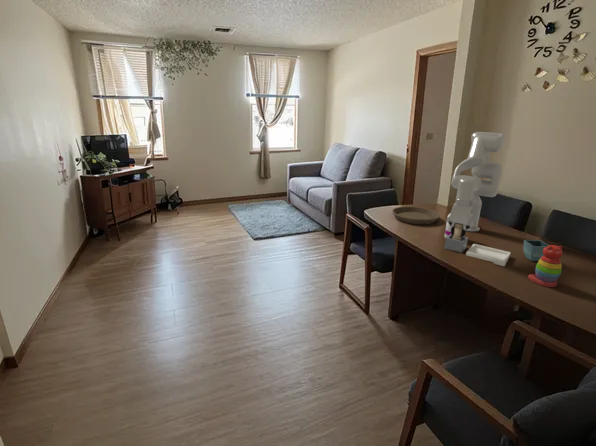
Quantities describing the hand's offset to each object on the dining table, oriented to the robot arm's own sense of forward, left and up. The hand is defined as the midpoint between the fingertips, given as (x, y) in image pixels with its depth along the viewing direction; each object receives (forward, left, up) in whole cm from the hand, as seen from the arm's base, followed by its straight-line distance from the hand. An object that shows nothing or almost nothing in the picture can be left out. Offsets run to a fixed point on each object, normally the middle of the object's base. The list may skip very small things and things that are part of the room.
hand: (457, 234), depth 193 cm
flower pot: (-13, +35, -9) cm, 38 cm away
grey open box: (0, 0, -8) cm, 8 cm away
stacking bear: (+13, +42, -9) cm, 45 cm away
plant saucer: (-39, -37, -9) cm, 54 cm away
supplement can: (-15, -6, -9) cm, 18 cm away
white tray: (-1, +16, -8) cm, 18 cm away
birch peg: (0, 0, -8) cm, 8 cm away
